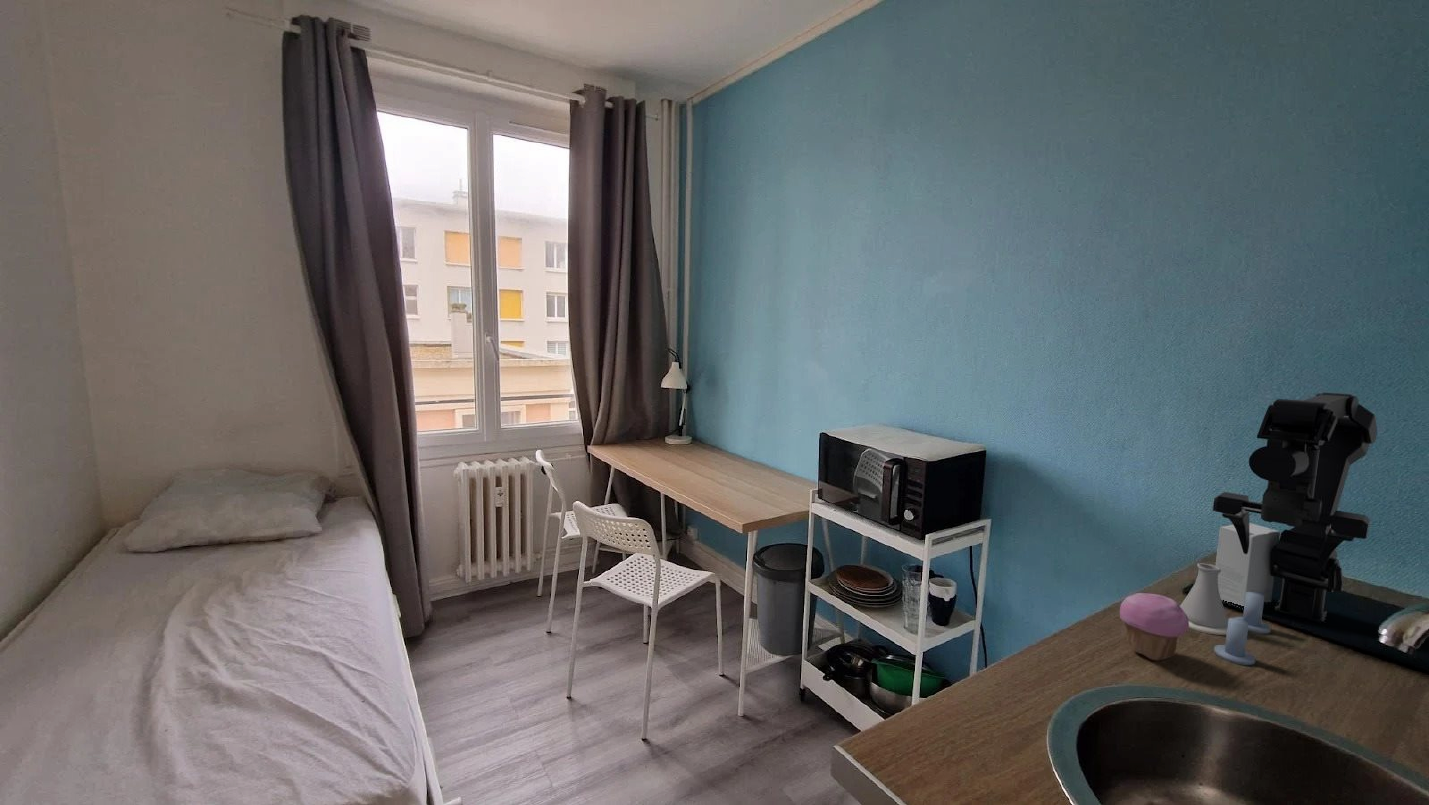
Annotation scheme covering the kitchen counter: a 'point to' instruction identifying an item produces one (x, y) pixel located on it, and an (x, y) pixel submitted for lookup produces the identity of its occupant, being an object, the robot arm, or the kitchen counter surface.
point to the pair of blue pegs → (1243, 631)
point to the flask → (1205, 599)
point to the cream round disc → (1208, 629)
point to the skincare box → (1245, 563)
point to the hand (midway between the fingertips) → (1281, 561)
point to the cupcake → (1153, 624)
